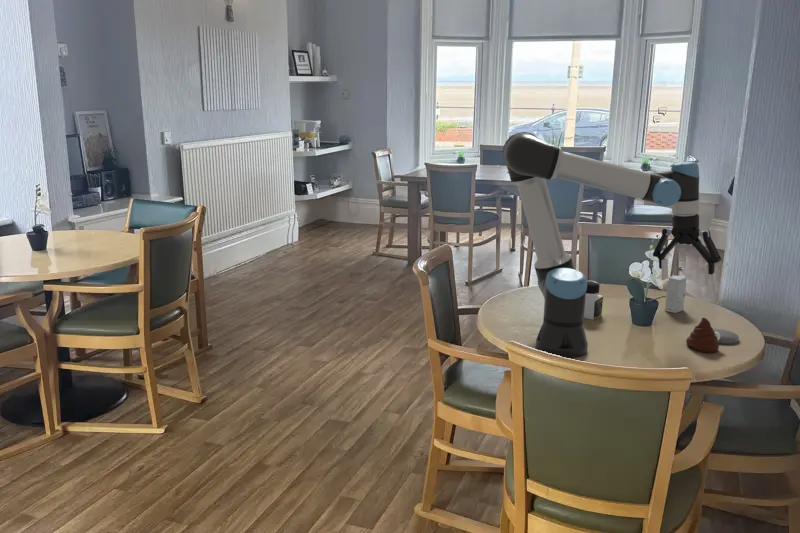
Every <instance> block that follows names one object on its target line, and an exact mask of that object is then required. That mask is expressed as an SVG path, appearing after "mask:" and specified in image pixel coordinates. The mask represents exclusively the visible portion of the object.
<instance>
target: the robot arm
mask: <svg viewBox="0 0 800 533" xmlns="http://www.w3.org/2000/svg"><path fill="white" fill-rule="evenodd" d="M502 158H503V160H504V162H505V165H506V168H507V172H508V176H509V180H510V182H511V184H513V185H515V186H517V189H518V193H519V196H520V200H521V203H522V207H523V212H524V214H525V218H526V221H527V226H528V230H529V232H530V236H531V237H530V238H531V240H532V244H533V248H534V252H535V255H536V261H535V262H534V265H533V266H534V269H535V274H536V278H537V285H538V288H539V290H540V292H541V293H542V296H543V298H544V306H543V321H542V324H541V327H540V330H539V331H538V334H537V336H536V339H535V340H536V341H535V348H536V350H538V349H539V350H542V351H546V352H548V353H552V354H556V355H560V356H563V357H562V358H577V357H582V356H584V355H586V354H587V352H588V346H589V345H588V344H589V343H588V340H587V336H586V331H585V327H584V320H585V318H584V310H585V298H586V290H587V281H588V280H587V277H586V275H585V274H584V273H583V272H582V271H580V270H576V269H575V266H574V263H573V262H574V261H573V259H572V255H571V254H569V253H567V252H566V251H565V248H564V244H563V241H562V236H561V233H560V229H559V225H558V222H557V221H558V220H557V217H556V214H555V211H554V206H553V202H552V199H551V194H550V191H549V187H548V184H547V180H548V181H552V180H553V179H555V178H557V179H560V180H562V181H563V180H564V181H568V182H573V183H576V184H579V185H584V186H588V187H591V188H596V189H599V190H602V191H607V192H610V193H611V192H612V193H614V194H620V195H623V196H627V197H630V198H633V199H638V200H643V201H647V202H650V203H654V204H656V205H658V206H661V207H672V208H671V213H672V217H671V218H672V220H671V222H672V223H671V224H672V228H670V227H668V226H667V227H665V228H663V229H662V231H661V236H660V239H659V240H658V242H657V244H656V246H655V249H654V251H653V252H652V256H653V257H655V258H657V259H658V268H659V269H661V281H665V280H668V278H669V257H667V255H669V253H670V252H671V251H672V250H673V249H674V248H675V246H677V244H679V245H688V246H690V245H692V247H694V248H695V250H697V251H698V252H699V254H700V256H701V257H703V259H704V260H705V262H706V263H704V286H709V285H711V284H712V275H713V274H715V268H716V266H715V263H716V264H717V263H719V262H721V261H722V257H721V255H720V253H719V251H718V248H716V245H715V243H714V241H713V239H712V237H711V236H712V235H711V231H710V230H709V229H706V230H700V214H699V213H700V178H701V177H700V169H699V164H698V163H697V162H695V161H679V162H674V163H672V164H671V168H670V169H669V170H663V171H651V172H645V171H641V170H637V169H633V168H630V167H626V166H621V165H617V164H615V163H614V164H613V163H611V162H606V161H602V160H597V159H594V158H591V157H587V156H583V155H578V154H575V153H571V152H566V151H563V149H562V147H561V146H558V145H555V144H551V143H549V142H546V141H544V140H542V139H540V138H539V137H538V136H536V135H535V134H533V133H531V132H528V131H521V132H516V133H514V134H512V135H511V136H509V137H508V138H507V140H506V141H505V142H504V145H503V147H502ZM670 235H672V236H673V239H671V241H670V242H669V244H668V245H667V246H666V247H665V245H666V242H667V241H668V238H669V237H670ZM700 236H701V238H702V239H703V242H704V244H705V246H704V244H703V243H702V240H700V238H699V237H700ZM664 247H665V248H664ZM539 350H538V351H539Z"/></svg>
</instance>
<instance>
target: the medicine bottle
mask: <svg viewBox="0 0 800 533" xmlns="http://www.w3.org/2000/svg"><path fill="white" fill-rule="evenodd" d="M600 287H601V285H600V284H599V282H597V281H595V280H587V290H586V298H585V310H584V319H586V320H590V321H591V320H592V321H594V320H596V319H597V318H599V317H600V316H602V314H603V312H602V311H603V303H604V302H603V301H604V300H603V299H604V295H602V294H600Z"/></svg>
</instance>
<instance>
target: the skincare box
mask: <svg viewBox="0 0 800 533" xmlns="http://www.w3.org/2000/svg"><path fill="white" fill-rule="evenodd" d="M669 277H670V278H669ZM669 277H668V278H669V281H668V280H667V284H666V294H665V303H664V304H665V307H664V311H666V312H670V313H674V314H677V313H679V312H682V311H684V308H685V297H686V287H687V286H686V285H687V277H686V276H684V275H683V276H682V275H676V274H675V275H672V276H669Z"/></svg>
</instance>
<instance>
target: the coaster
mask: <svg viewBox="0 0 800 533" xmlns="http://www.w3.org/2000/svg"><path fill="white" fill-rule="evenodd" d="M713 331H714V332H718V333H719V334H720V339H719V340H718V341H717V342H718V344H719V345H735V344H737V343H739V335H738V334H737V333H735V332H733V331H729V330H726V329H720V328H719V329H718V328H713Z"/></svg>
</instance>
